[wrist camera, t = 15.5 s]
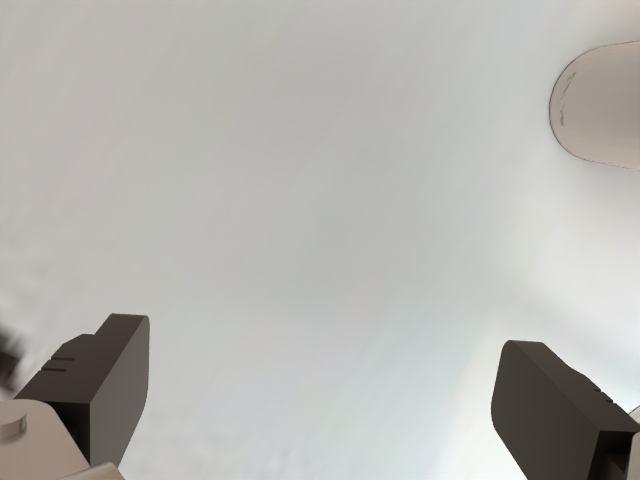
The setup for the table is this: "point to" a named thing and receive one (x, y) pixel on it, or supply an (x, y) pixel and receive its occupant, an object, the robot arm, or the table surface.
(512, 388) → the robot arm
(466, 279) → the table surface
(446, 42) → the table surface
